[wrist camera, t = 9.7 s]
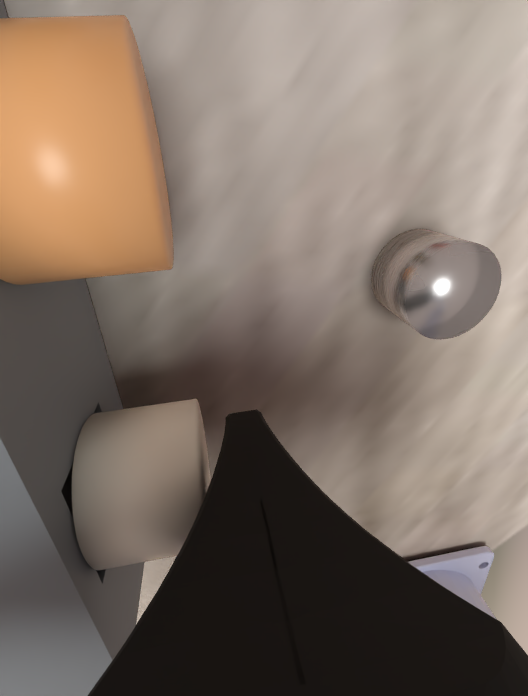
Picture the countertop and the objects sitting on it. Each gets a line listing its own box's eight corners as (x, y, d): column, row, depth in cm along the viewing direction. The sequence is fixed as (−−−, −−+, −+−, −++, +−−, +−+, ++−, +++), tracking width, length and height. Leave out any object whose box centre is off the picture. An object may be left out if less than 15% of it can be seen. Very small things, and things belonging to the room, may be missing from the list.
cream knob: (211, 469, 12) (216, 582, 9) (-116, 524, 11) (-251, 677, 7) (194, 373, 10) (192, 468, 7) (-195, 426, 9) (-410, 568, 6)
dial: (443, 305, 12) (490, 332, 10) (368, 316, 12) (401, 345, 10) (455, 224, 11) (511, 236, 9) (373, 233, 11) (412, 248, 9)
